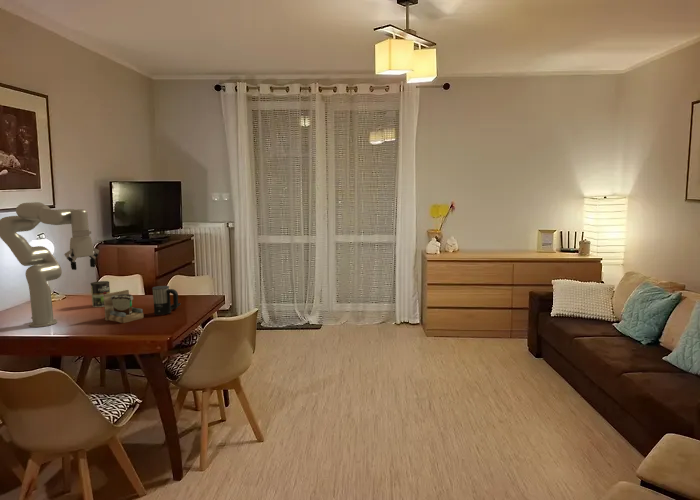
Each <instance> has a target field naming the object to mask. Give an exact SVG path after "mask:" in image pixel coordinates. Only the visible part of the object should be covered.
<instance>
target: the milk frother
mask: <svg viewBox="0 0 700 500" xmlns="http://www.w3.org/2000/svg"><path fill="white" fill-rule="evenodd" d="M151 289H152V297H153V298H152V299H153V311H154V312H153V314H154V315H155V316H156V315H157V316H158V315H159V316H160V315H162V316H163V315H167V314H171V313H172V310H174V309H178V308H179V307H180V306H181V302H179V294H178V291H177V290H176V289H173V288H170V286H169V285H157V286H153V287H152V288H151ZM171 294H172V298H173V299H172V300H173V302H172V303H171Z"/></svg>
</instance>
